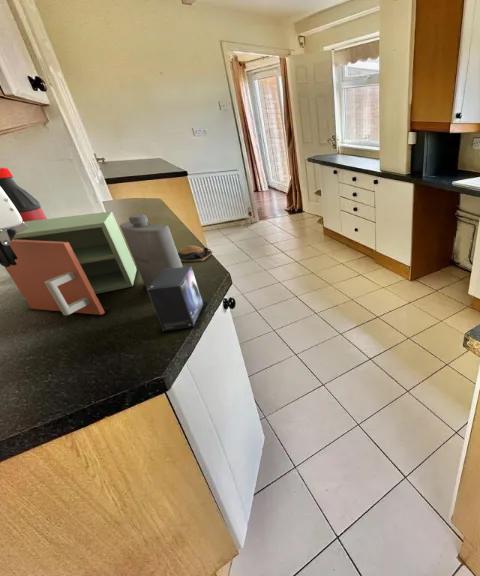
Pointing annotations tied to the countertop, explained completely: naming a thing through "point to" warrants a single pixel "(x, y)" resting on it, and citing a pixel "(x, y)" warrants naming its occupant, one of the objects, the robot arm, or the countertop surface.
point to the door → (52, 278)
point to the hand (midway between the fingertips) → (9, 264)
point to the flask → (150, 247)
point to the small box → (176, 298)
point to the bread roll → (193, 253)
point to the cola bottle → (20, 198)
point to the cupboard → (90, 247)
